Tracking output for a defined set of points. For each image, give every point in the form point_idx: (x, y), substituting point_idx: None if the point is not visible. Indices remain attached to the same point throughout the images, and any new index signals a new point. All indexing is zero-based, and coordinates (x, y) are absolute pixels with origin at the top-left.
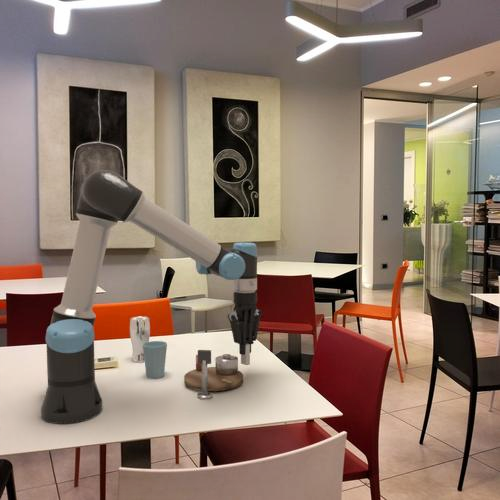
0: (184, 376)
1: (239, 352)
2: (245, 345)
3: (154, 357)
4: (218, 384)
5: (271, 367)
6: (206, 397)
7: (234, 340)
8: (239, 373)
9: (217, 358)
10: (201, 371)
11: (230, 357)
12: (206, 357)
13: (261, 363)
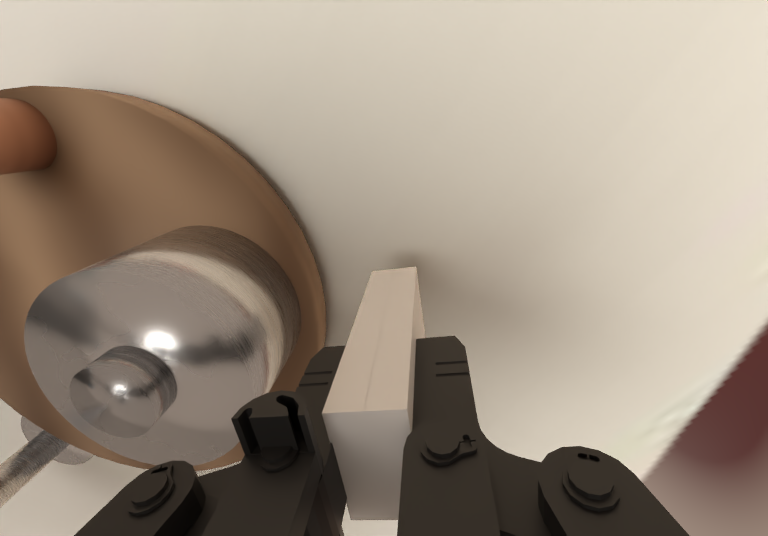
0: None
1: (310, 361)
2: (348, 499)
3: None
4: (107, 452)
5: (709, 225)
6: (61, 461)
7: (111, 523)
8: (291, 374)
9: (46, 338)
10: (35, 182)
11: (171, 402)
12: None
13: (755, 54)
